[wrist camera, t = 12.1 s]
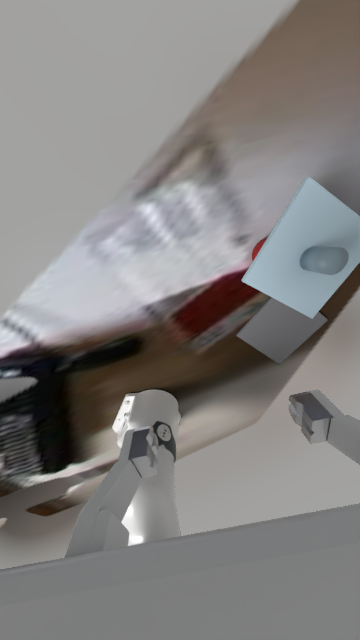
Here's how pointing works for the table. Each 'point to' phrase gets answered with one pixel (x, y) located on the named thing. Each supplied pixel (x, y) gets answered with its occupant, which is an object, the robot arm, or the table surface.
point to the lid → (308, 250)
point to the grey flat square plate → (279, 329)
